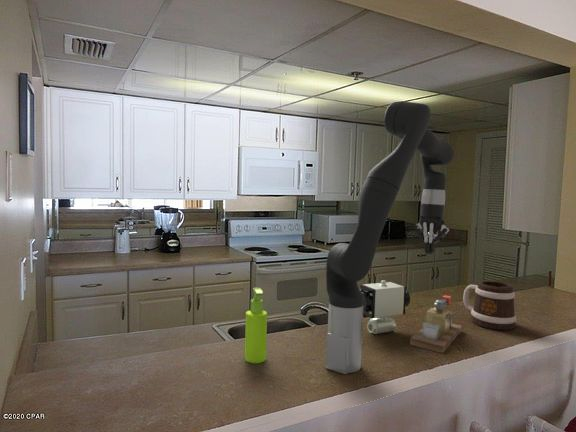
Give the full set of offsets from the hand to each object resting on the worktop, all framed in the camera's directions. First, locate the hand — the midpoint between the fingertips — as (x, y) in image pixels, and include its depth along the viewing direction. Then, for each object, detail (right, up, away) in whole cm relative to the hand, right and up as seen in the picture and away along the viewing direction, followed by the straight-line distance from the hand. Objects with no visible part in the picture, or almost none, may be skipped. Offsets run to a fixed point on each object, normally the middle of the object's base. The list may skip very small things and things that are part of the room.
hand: (429, 253), depth 138 cm
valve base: (+1, -27, -5) cm, 28 cm away
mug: (+26, -27, +13) cm, 40 cm away
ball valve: (-17, -27, 0) cm, 32 cm away
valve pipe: (+1, -25, -5) cm, 26 cm away
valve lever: (+4, -18, -1) cm, 18 cm away
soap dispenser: (-57, -27, -26) cm, 68 cm away
